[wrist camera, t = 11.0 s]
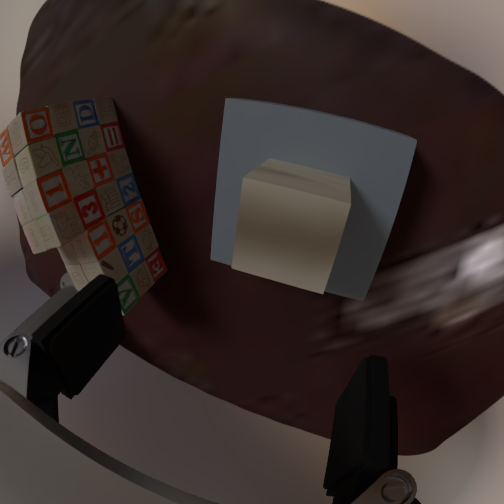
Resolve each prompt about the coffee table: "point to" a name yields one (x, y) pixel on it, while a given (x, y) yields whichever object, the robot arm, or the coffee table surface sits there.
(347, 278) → the slate base plinth
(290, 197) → the cream block
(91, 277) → the stack of blocks
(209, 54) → the coffee table surface
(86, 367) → the robot arm
